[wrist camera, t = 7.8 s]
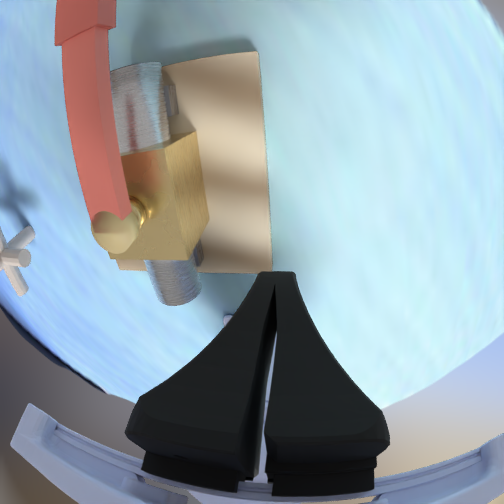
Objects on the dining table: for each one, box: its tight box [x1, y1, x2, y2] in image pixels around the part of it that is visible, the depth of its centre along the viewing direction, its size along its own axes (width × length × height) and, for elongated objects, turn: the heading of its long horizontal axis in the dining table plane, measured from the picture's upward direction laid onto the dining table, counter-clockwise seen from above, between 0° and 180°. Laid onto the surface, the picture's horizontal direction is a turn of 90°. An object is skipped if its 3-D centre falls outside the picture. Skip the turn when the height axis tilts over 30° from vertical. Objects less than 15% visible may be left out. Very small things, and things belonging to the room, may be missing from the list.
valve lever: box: [55, 0, 139, 254], centre depth 9 cm, size 15×3×1 cm, turn 2°
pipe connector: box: [0, 226, 35, 296], centre depth 20 cm, size 10×10×10 cm
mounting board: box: [116, 51, 273, 274], centre depth 18 cm, size 16×14×1 cm
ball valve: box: [108, 62, 210, 306], centre depth 16 cm, size 16×6×7 cm, turn 4°
